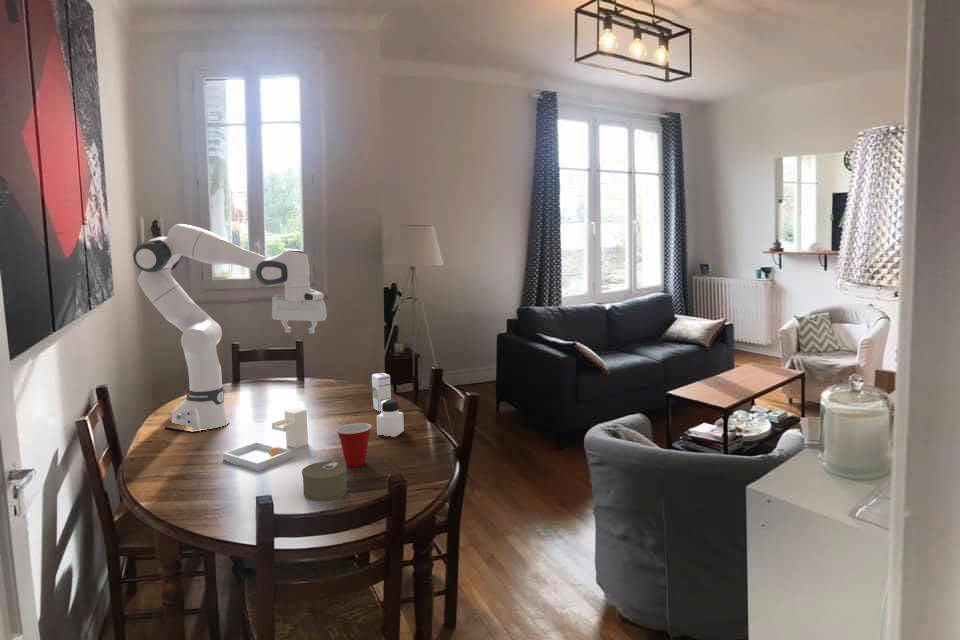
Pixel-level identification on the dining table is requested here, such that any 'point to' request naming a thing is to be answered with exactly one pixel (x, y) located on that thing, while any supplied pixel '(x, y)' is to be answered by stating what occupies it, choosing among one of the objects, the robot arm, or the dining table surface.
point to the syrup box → (380, 389)
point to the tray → (256, 456)
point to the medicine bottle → (390, 419)
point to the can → (324, 481)
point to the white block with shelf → (294, 427)
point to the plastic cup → (354, 443)
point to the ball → (273, 451)
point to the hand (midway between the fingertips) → (299, 332)
